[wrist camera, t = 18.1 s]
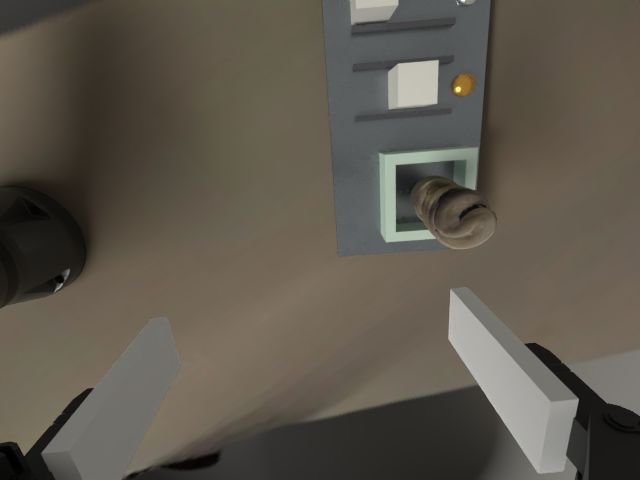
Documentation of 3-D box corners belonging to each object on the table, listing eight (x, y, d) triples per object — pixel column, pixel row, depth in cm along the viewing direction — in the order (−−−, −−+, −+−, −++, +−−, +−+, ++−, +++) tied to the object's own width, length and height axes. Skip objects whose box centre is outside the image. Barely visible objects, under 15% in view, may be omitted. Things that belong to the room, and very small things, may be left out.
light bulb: (454, 188, 41) (518, 221, 27) (424, 221, 43) (469, 268, 29) (421, 159, 40) (469, 178, 26) (391, 194, 42) (421, 230, 28)
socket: (380, 233, 44) (386, 242, 40) (379, 152, 40) (384, 154, 37) (460, 227, 43) (471, 236, 40) (465, 145, 40) (478, 147, 37)
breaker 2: (388, 109, 39) (398, 106, 34) (388, 72, 37) (398, 63, 33) (422, 106, 39) (437, 103, 34) (423, 69, 37) (438, 60, 33)
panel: (337, 253, 46) (338, 259, 44) (320, -23, 36) (320, -33, 33) (468, 243, 45) (475, 249, 43) (488, -39, 35) (498, -49, 33)
